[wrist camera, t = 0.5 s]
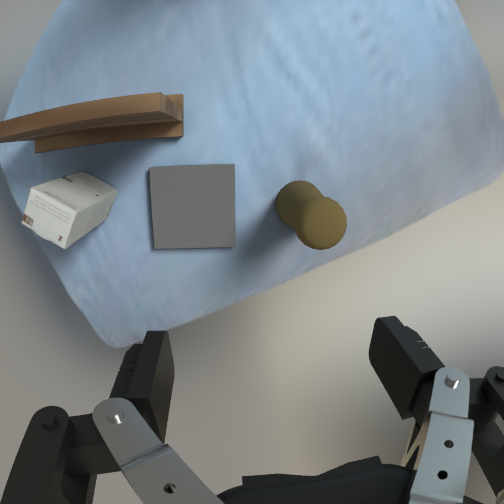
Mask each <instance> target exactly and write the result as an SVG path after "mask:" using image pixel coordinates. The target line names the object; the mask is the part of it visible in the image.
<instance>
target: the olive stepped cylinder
mask: <svg viewBox="0 0 504 504" xmlns="http://www.w3.org/2000/svg"><path fill="white" fill-rule="evenodd" d="M276 212H277V214H278V216H279V218H280V219H281V220H282V221H283V222H284V223H285V224H286V225H288V226H290V227H291V228H293V229H295V232H296V234H297V236H298V238H299V239H300V240H301V241H302V242H303V243H304V245H306V246H308V247H310V248H313V249H318V250H323V249H329V248H331V247H333V246H335V245H336V244H337V243H338V242H339V241H340V240H341V239H342V237H343V236H344V234H345V231H346V227H347V219H346V215H345V213H344V210H343V208H342V207H341V206H340V205H339V204H338V202H336V201H334V200H332V199H331V198H328V197H324V196H323V195H322V194H321V193H320V191H319V190H318V189H317V188H316V187H315V186H314V185H313V184H311V183H309V182H306V181H301V180H300V181H293V182H291V183H289V184H287V185H285V186H284V187H283V188H282V189H281V190H280V192H279V194H278V196H277V199H276Z"/></svg>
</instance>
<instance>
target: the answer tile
mask: <svg viewBox="0 0 504 504" xmlns="http://www.w3.org/2000/svg"><path fill="white" fill-rule="evenodd" d="M150 190H151V207H152V221H153V233H154V245H155V249H169V248H211V247H235V164H206V165H179V166H160V167H150Z"/></svg>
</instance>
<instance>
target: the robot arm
mask: <svg viewBox="0 0 504 504" xmlns="http://www.w3.org/2000/svg"><path fill="white" fill-rule="evenodd" d="M369 359H370V363H371V365H372V366H373V368H374V370H375V372H376V374H377V375H378V377H379V379H380V381H381V382H382V384H383V386H384V388H385V389H386V391H387V393H388V394H389V396H390V398H391V400H392V402H393V403H394V405H395V407H396V409H397V410H398V412H399V414H400V416H401V418H402V419H407V418H411V417H414V418H415V422H414V424H413V427H412V430H411V434H410V437H409V440H408V444H407V447H406V450H405V453H404V456H403V459H402V462H401V464H400V466H399V465H393V464H382V463H381V461H380V458H379V456H374V457H370V458H366V459H362V460H358V461H353V462H348V463H346V464H344V465H341V466H339V467H337V468H334V469H332V470H330V471H327V472H325V473H322V474H320V475H317V476H302V475H288V474H269V475H255V476H242V482H243V485H241V486H237V487H234V488H231V489H228V490H226V491H224V492H222V493H220V494H218V495H217V496H216V495H215V494H214V493H213V492H212V491H211V490H210V489H209V488H208V487H207V486H206V485H205V484H204V483H203V482H202V481H201V480H200V479H199V478H198V476H197V475H196V474H195V473H194V472H193V471H192V470H191V469H190V468H189V467H188V466H187V464H186V463H185V462H184V461H183V460H182V459H181V458H180V456H179V455H178V454H177V453H176V452H175V451H174V450H173V448H172V447H170V446H169V445H168V444H166V445H164V442H165V435H166V428H167V421H168V414H169V408H170V401H171V394H172V388H173V382H174V362H173V356H172V351H171V346H170V340H169V334H168V332H167V331H147V333H146V336H145V338H144V341H143V344H134V345H133V346H132V347H131V348H130V349H129V350H128V351H127V352H126V354H125V356H124V359H123V363H122V364H121V367H120V371H119V372H118V375H117V377H116V380H115V383H114V386H113V389H112V391H111V394H110V397H109V399H107V400H104V401H102V402H100V403H99V404H98V405H97V406H96V407H95V409H94V411H93V413H91V414H86V415H80V416H71V417H69V416H68V414H67V413H66V411H65V410H64V409H62V408H60V407H57V406H48V407H44V408H42V409H40V410H39V411H37V412H36V413H35V414H34V415H33V417H32V419H31V421H30V423H29V426H28V428H27V430H26V433H25V435H24V438H23V440H22V443H21V445H20V448H19V451H18V453H17V456H16V458H15V461H14V464H13V466H12V469H11V472H10V475H9V478H8V481H7V484H6V487H5V490H4V493H3V496H2V499H1V502H0V504H92V502H93V496H94V490H95V484H96V479H97V474H103V473H111V472H117V471H122V473H123V474H124V476H125V478H126V479H127V480H128V482H129V484H130V485H131V487H132V488H133V490H134V491H135V492H136V494H137V495H138V497H139V498H140V500H141V501H142V502H143V504H483V503H480V502H478V501H475V500H473V499H471V498H469V497H467V496H464V492H465V486H466V481H467V475H468V468H469V462H470V455H471V450H472V452H473V453H474V455H475V457H476V459H477V461H478V463H479V465H480V466H481V468H482V470H483V472H484V474H485V476H486V478H487V480H488V482H489V484H490V486H491V487H492V489H493V491H494V493H495V496H496V504H504V435H503V434H502V432H501V430H500V429H499V427H498V426H497V424H496V423H495V420H496V418H497V416H498V415H499V414H500V416H501V417H502V419H503V420H504V368H503V367H498V366H495V367H492V368H490V369H489V370H488V371H487V373H486V375H485V377H484V378H475V379H469V378H468V376H467V375H466V374H465V373H464V372H463V371H461V370H460V369H457V368H454V367H445V366H444V365H443V363H442V362H441V361H440V359H439V358H438V357H437V356H436V355H435V353H434V352H433V351H432V350H431V349H430V348H428V345H427V344H426V343H425V341H424V342H423V339H422V338H421V337H420V336H419V334H418V333H417V332H415V331H414V330H412V329H411V328H409V327H407V326H404V325H403V324H402V323H401V322H400V321H399V319H398V318H397V317H396V316H389V317H382V318H377V319H376V321H375V324H374V329H373V334H372V338H371V343H370V347H369Z"/></svg>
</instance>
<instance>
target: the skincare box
mask: <svg viewBox="0 0 504 504" xmlns="http://www.w3.org/2000/svg"><path fill="white" fill-rule="evenodd" d="M117 194H118V190H117V189H115V188H114V187H112V186H110V185H109V184H107V183H105V182H103V181H101V180H99V179H98V178H96V177H94V176H92V175H90V174H87V173H85V172H78V173H75V174H72V175H68V176H65V177H61V178H58V179H55V180H52V181H49V182H46V183H43V184H40V185H37V186H34V187H31V189H30V193H29V197H28V200H27V204H26V207H25V211H24V215H23V219H22V224H23V225H25V226H27V227H28V228H30V229H31V230H33V231H34V232H36V233H37V234H38V235H39V236H40V237H42V238H44V239H46V240H49V241H51V242H53V243H54V244H56V245H58V246H59V247H61V248H63V249H67V248H68V247H69V246H70V245H72V244H73V243H74V242H76V241H77V240H78V239H80V238H81V237H82V236H84V235H85V234H87V233H88V232H89V231H91V230H92V229H93V228H95V227H96V226H98V225H99V224H100V223H102V222H103V221H105V220H106V219H107V218H108V216H109V213H110V211H111V208H112V206H113V204H114V201H115V199H116V196H117Z"/></svg>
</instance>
